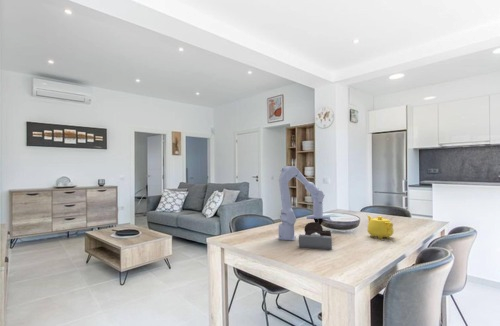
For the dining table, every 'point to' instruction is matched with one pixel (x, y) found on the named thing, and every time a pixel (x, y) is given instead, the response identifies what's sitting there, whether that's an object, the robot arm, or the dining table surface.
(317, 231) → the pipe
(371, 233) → the teapot
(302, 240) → the block
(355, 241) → the dining table surface
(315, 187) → the robot arm
